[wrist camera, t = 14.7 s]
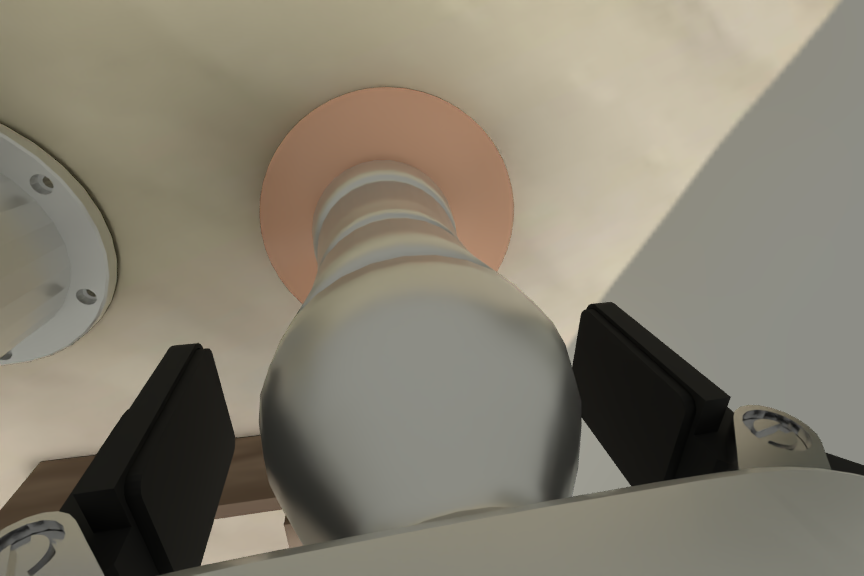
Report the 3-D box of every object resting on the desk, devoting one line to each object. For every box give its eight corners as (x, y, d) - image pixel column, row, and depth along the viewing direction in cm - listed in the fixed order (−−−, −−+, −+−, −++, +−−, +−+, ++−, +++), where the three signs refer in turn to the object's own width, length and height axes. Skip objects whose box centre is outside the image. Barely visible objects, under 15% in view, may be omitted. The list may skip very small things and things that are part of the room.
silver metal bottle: (329, 287, 23) (248, 1001, 5) (303, 157, 20) (-120, 783, 2) (447, 271, 24) (736, 842, 6) (439, 143, 21) (980, 515, 3)
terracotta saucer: (241, 88, 19) (234, 88, 18) (515, 86, 21) (523, 86, 20) (285, 333, 25) (282, 344, 24) (499, 314, 27) (505, 324, 26)
